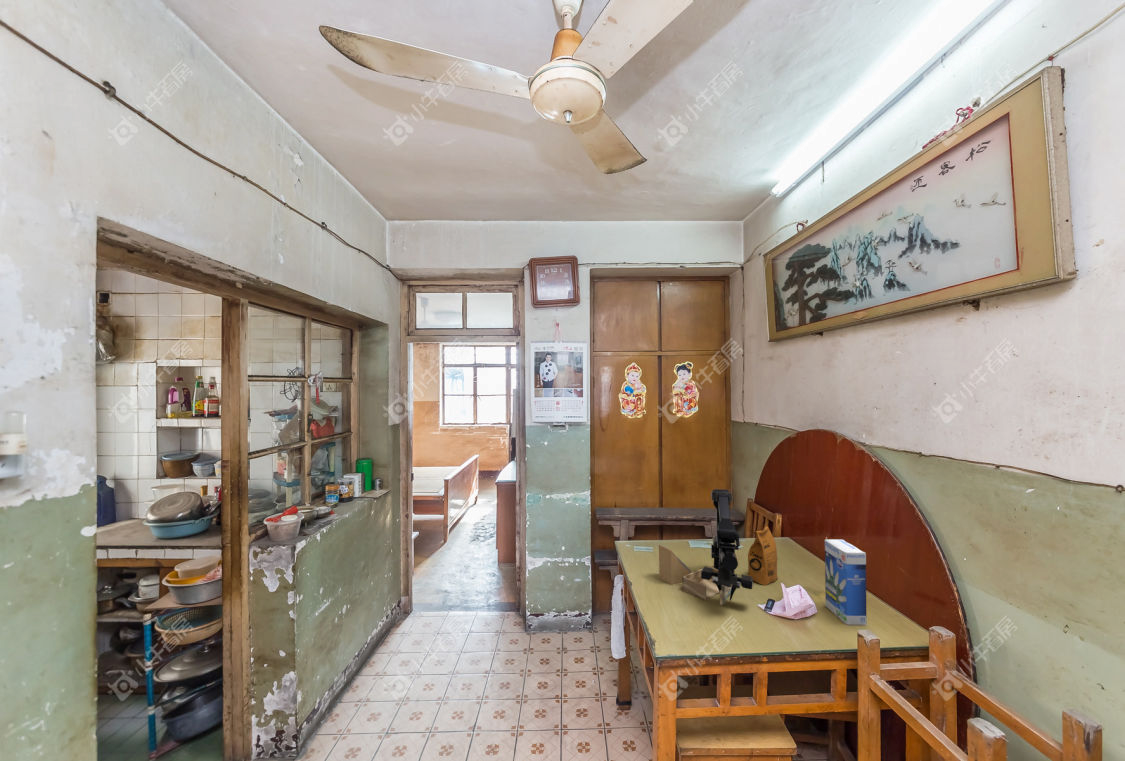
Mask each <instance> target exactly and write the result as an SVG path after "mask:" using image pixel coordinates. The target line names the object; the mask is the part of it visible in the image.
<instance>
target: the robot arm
mask: <svg viewBox="0 0 1125 761" xmlns="http://www.w3.org/2000/svg"><path fill="white" fill-rule="evenodd" d="M710 498H711V500H712V504H713V506H714V508H715V513H716V514H715V516H716V519H715V520H716V521H715V522H716V526H715V527H716V529H715V530H716V531H715V532H716V534H715V536H714V538H713V539H712V544H711V546H710V556H711V559H713V567H712V568H709V567H707V566H703V567H702V568H703V569H702V568H701V569H702V571H701V578H702V579H706V580H710V579H711V577H713V581H712V582H713V583H715V584H716V585H717V587H718V590H719V593H720V590H721V588H722V585H723V586H727V587H731V593H730V594H729V601H732V599H733V596H734V594H735V592H736V590H737V589H740V588H741V587H742V588H743V589H747V590H753V586H754V581H753V578H752V577H751V576H748V574H741V577H740V576H738V574H737V573H736V572H735V570H736V569H737V568H738V567H739V561H738V559H737V555H736V550H738V551H739V550H740V547H741V543H740V535H739V533H738V531H737V530H736V527H735V526H736V525H735V524H734V523H733V522H732V521H731V519H732V518H731V510H730V505H731V502H733V493H732V492H731V491H729V489H722V488H721V489H720V488H714V489H713V490H712V491H710ZM713 568H715V569H718V573H717V572H713ZM731 585H732V586H731Z"/></svg>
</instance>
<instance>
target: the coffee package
mask: <svg viewBox="0 0 1125 761" xmlns="http://www.w3.org/2000/svg"><path fill="white" fill-rule="evenodd" d="M753 534H754V535H755V536H756V537H755V539H754V542H753V543H752V545H751V546H750V547H749V549H748V553H747V561H748V562H747V563H748V564H747V566H748V567H747V568H748V569H747V570H748V571H747V572H748V573H747V576H751V577H752V578H753V582H755V583H757V584H759V585H762V586H767V585H769V584H770V583H775V582H776V580H777V579H778V551H777V544H776V541H775V540H776V539H775V538H774V536H773V534H772V532H771V530H770V528H769V526H764V527H763V529H762V530H754V532H753Z"/></svg>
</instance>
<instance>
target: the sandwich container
mask: <svg viewBox="0 0 1125 761" xmlns="http://www.w3.org/2000/svg"><path fill="white" fill-rule="evenodd" d="M658 565H659V566H658V567H659V568H658V570H659V571H658V572H659V579H661V580H663V581H664V582H666V583H667V584H670V585H671V586H672V585H673V586H674V585H676V584H677V585H678V584H682V577H683V576H686V575H688V574H690V573H693V572H694V571H692V570H691V569H690V568H689V567H688V566H687V565H686V564H685V563H684V562H683V561H682V560H681V559H680V558H679V557H678V556H677V555H676V554H675V553H674V551H672V549H669V548H668V547H666V546H664V545H662V544H658Z"/></svg>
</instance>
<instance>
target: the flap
mask: <svg viewBox="0 0 1125 761" xmlns="http://www.w3.org/2000/svg"><path fill="white" fill-rule="evenodd" d="M731 586H732V585H731ZM730 593H731V587H727V586H723V587H722V588H721V590H720V594H719V606H721V607H722V606H723V605H724V603H726V600H727V599H728V597H730Z"/></svg>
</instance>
